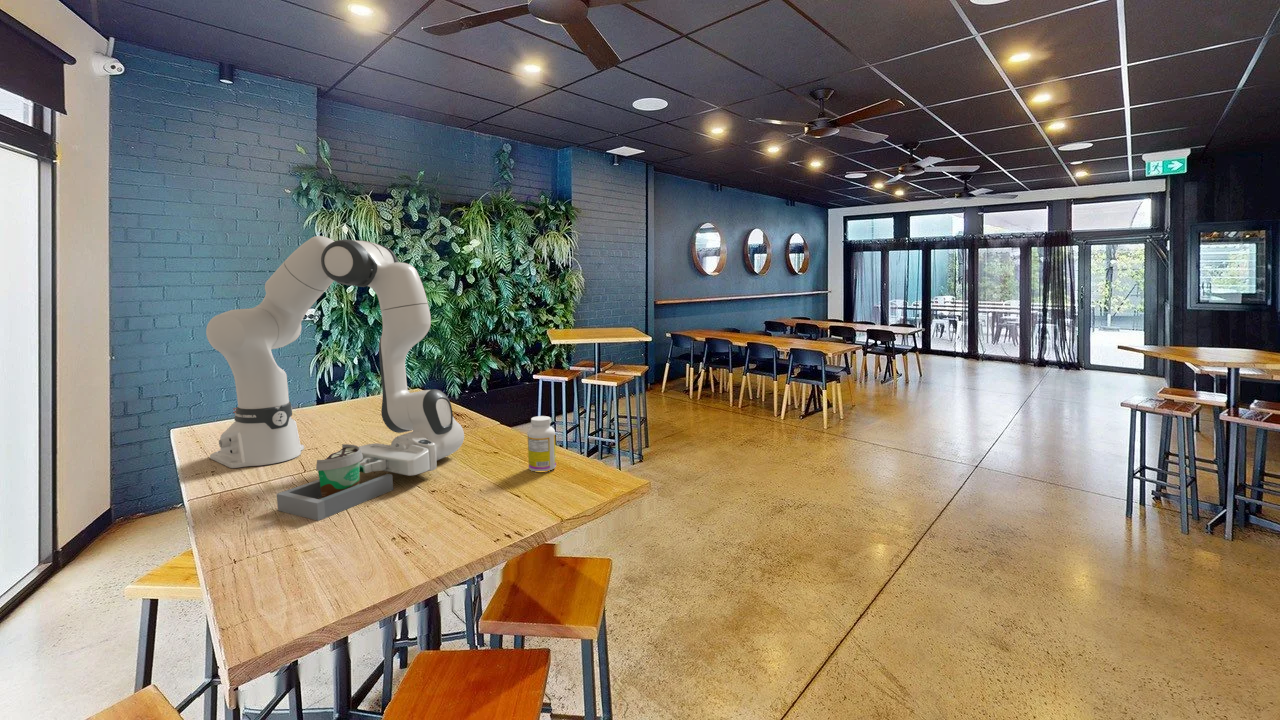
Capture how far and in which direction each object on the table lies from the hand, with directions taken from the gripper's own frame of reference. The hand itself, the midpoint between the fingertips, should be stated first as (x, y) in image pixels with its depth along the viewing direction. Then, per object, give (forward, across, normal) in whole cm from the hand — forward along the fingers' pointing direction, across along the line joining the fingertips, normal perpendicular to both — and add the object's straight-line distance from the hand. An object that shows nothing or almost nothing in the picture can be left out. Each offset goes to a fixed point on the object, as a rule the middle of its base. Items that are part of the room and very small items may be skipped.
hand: (359, 469), depth 126 cm
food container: (+4, 0, +5) cm, 6 cm away
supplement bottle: (-29, +28, +5) cm, 41 cm away
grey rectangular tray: (+5, 0, +5) cm, 7 cm away
